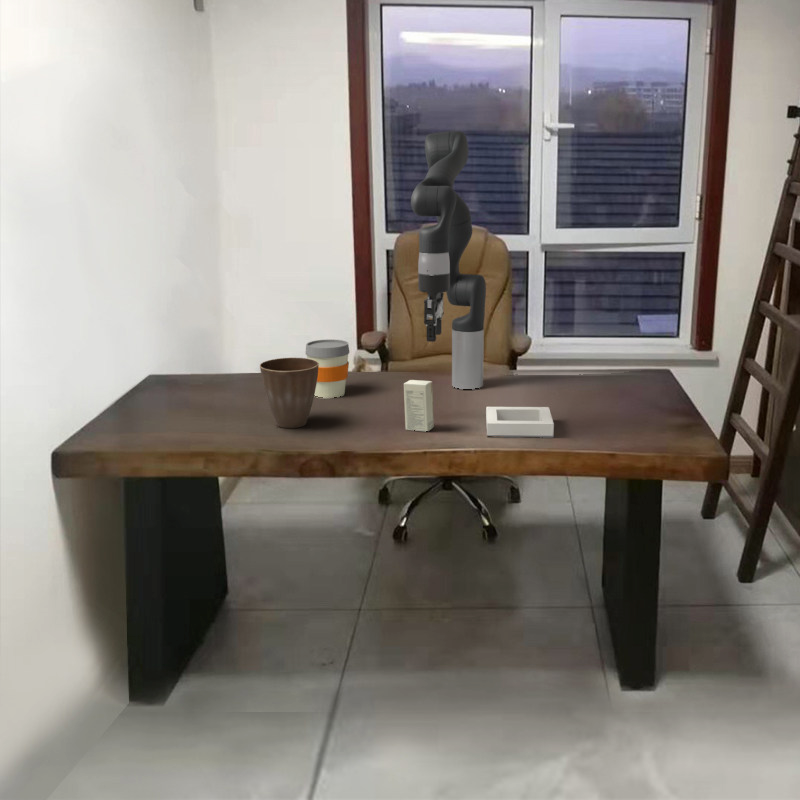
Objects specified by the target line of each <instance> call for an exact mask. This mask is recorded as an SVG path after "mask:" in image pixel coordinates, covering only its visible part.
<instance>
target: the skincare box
mask: <svg viewBox="0 0 800 800" xmlns="http://www.w3.org/2000/svg"><path fill="white" fill-rule="evenodd" d="M433 397H434V396H433V381H430V380H419V379H418V380H416V379H409V380H408V381H406V382H404V383H403V399H404V400H403V401H404V424H405V427H404V428H405V431H414V430H415V431H418V432H426V431H428V432H429V431H430V430H432V429H433V428H434V427H435V426H434V401H433Z"/></svg>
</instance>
